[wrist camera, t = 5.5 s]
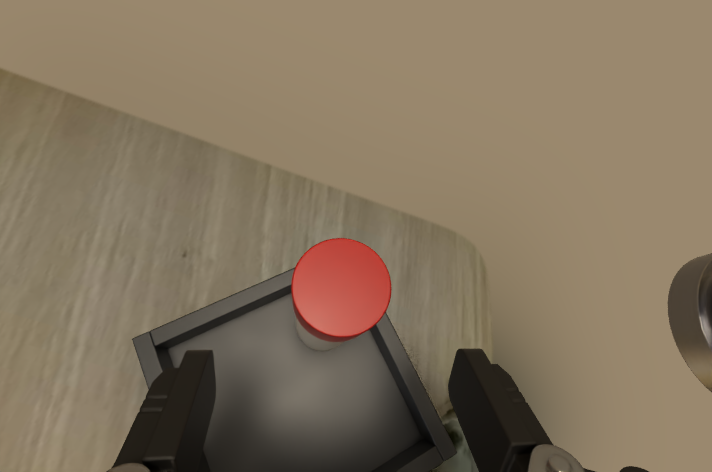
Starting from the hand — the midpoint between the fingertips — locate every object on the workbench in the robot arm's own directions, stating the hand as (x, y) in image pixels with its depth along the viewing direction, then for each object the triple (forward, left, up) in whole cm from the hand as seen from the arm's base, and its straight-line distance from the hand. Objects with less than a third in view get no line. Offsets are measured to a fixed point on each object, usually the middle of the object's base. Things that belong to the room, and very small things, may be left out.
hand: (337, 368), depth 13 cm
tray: (+2, +1, -9) cm, 9 cm away
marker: (-1, -2, -9) cm, 9 cm away
